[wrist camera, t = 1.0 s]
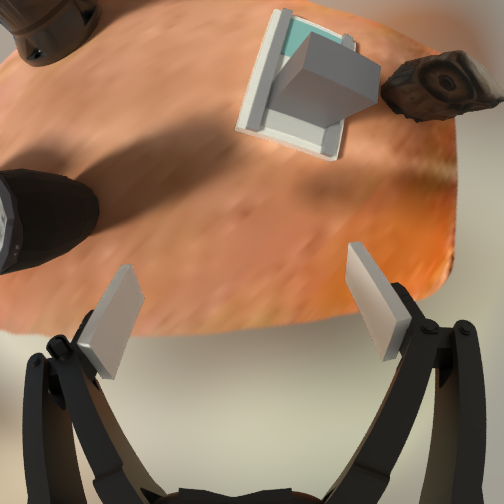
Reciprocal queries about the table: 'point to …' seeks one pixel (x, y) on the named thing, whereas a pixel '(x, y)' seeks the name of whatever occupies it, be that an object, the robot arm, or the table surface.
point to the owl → (441, 87)
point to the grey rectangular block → (325, 83)
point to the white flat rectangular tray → (261, 84)
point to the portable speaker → (42, 217)
